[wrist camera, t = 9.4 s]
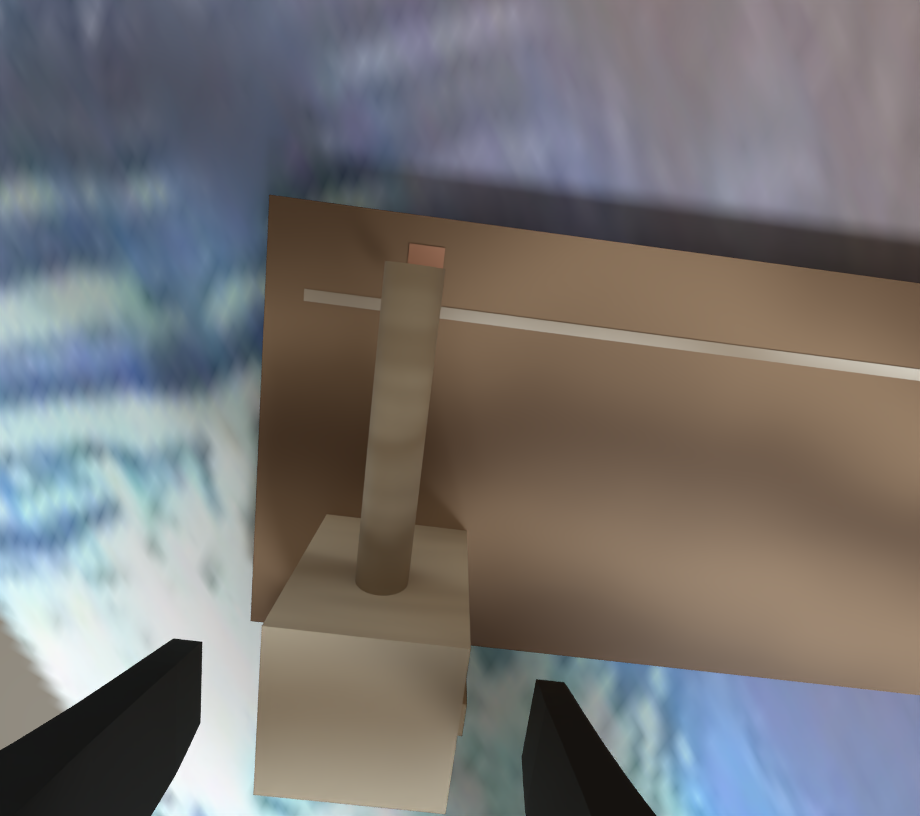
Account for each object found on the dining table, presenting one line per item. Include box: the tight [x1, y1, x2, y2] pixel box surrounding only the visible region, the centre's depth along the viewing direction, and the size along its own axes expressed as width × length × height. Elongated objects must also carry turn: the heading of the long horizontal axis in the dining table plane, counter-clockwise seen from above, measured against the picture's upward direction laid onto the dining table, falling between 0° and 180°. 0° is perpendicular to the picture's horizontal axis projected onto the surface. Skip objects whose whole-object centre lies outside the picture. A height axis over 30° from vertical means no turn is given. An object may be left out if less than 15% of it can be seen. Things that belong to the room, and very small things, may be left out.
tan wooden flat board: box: [251, 195, 920, 695], centre depth 15 cm, size 12×24×2 cm, turn 83°
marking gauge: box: [253, 261, 471, 814], centre depth 13 cm, size 12×5×6 cm, turn 173°
